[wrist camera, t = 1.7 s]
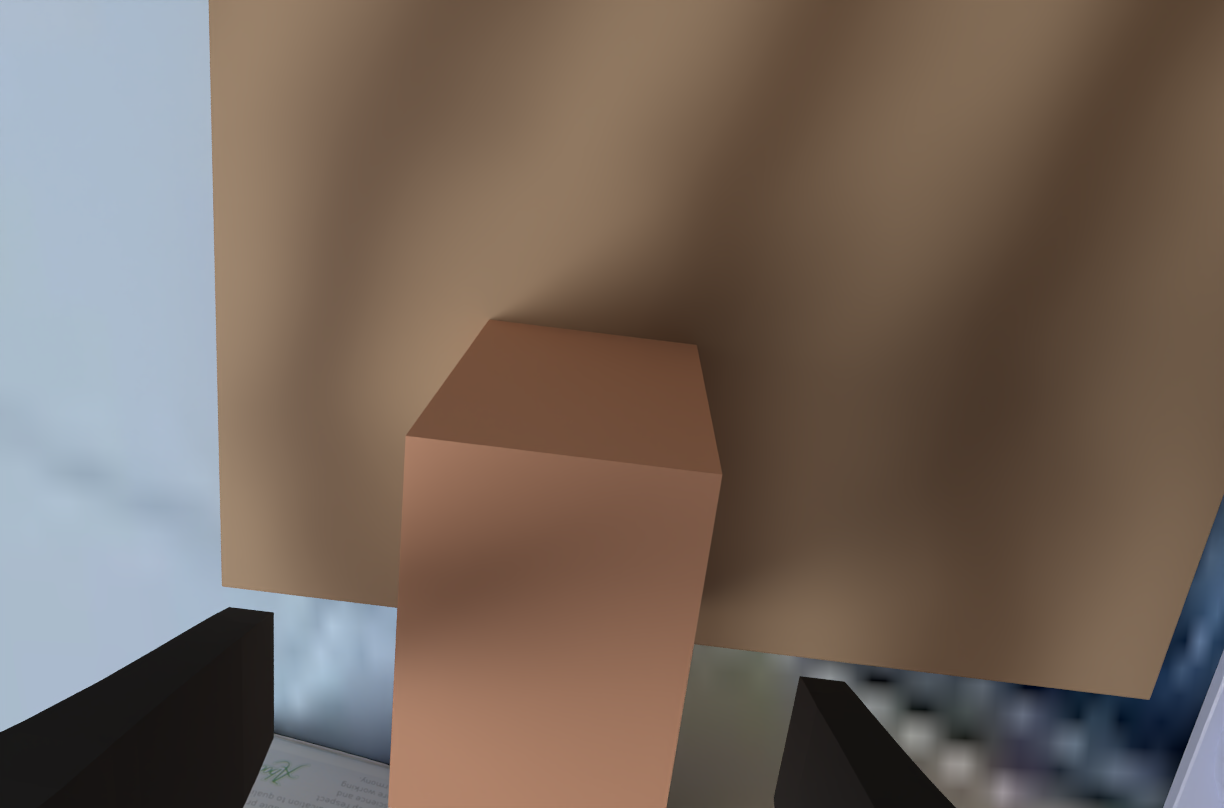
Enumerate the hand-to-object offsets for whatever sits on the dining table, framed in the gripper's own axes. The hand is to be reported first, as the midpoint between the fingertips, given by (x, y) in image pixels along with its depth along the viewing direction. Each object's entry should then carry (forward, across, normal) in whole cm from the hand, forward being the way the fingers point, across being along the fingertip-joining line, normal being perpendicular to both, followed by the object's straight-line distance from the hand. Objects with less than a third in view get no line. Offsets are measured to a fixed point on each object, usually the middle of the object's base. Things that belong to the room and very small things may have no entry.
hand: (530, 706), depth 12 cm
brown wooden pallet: (+10, -3, -5) cm, 11 cm away
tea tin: (+8, 0, 0) cm, 8 cm away
